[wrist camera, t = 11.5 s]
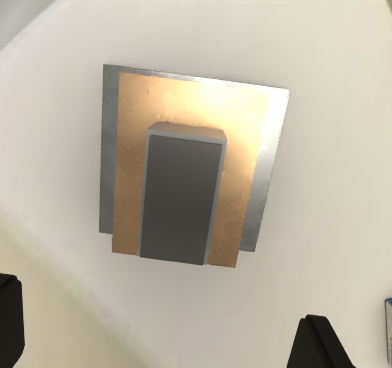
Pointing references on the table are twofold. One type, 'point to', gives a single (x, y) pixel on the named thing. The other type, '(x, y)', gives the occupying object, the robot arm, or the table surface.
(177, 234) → the block
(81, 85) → the table surface
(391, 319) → the ink cartridge box
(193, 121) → the cardboard on grey plate
